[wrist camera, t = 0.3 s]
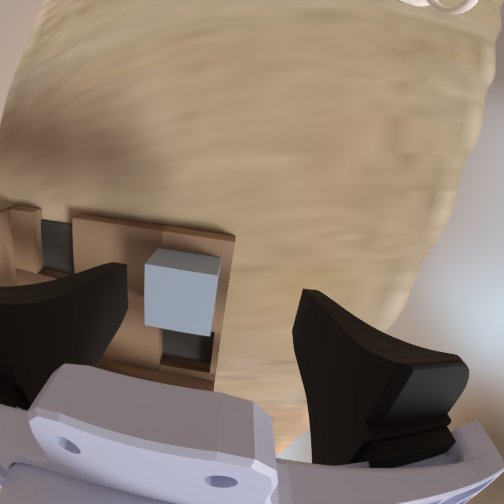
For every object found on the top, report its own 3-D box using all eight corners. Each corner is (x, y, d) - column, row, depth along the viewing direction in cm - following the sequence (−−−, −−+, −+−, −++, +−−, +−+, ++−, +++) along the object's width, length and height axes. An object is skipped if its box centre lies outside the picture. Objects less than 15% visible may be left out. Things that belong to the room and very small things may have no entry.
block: (213, 313, 21) (210, 336, 19) (155, 303, 21) (144, 324, 18) (221, 257, 20) (217, 275, 17) (158, 247, 20) (144, 263, 17)
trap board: (214, 376, 26) (211, 411, 21) (32, 330, 24) (11, 353, 20) (235, 235, 21) (233, 257, 17) (14, 205, 19) (-18, 217, 15)
